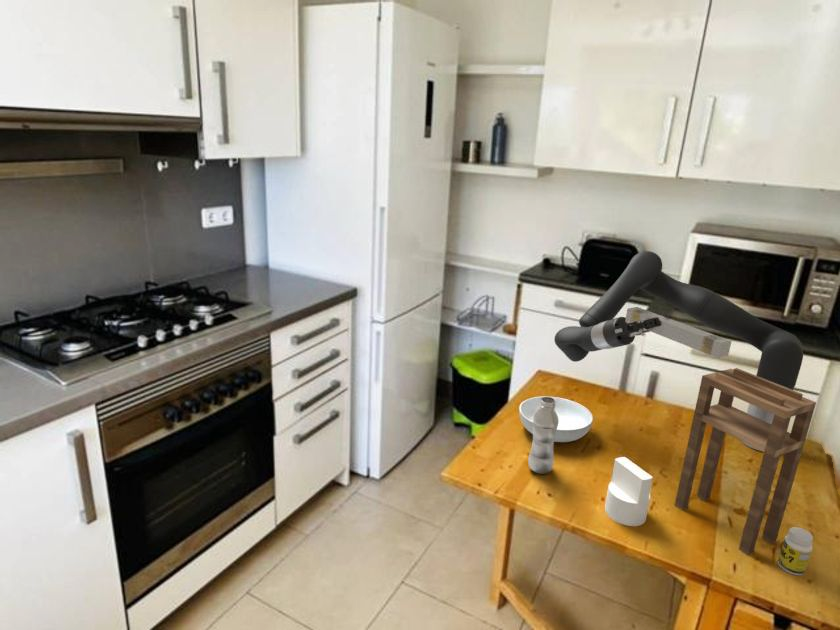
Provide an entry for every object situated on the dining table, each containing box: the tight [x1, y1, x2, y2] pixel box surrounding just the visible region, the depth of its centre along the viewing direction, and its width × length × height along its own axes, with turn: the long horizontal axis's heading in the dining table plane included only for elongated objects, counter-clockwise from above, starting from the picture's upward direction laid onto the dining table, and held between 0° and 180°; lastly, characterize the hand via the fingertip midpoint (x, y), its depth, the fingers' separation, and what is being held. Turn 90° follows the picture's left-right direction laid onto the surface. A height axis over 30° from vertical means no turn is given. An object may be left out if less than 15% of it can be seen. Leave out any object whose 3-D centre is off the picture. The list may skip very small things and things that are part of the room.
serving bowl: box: [518, 395, 594, 443], centre depth 160 cm, size 21×21×7 cm
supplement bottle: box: [777, 526, 814, 576], centre depth 111 cm, size 5×5×8 cm
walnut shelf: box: [674, 367, 817, 556], centre depth 119 cm, size 10×18×35 cm, turn 28°
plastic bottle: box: [527, 396, 559, 475], centre depth 139 cm, size 6×7×20 cm
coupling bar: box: [625, 306, 732, 359], centre depth 131 cm, size 4×26×4 cm, turn 28°
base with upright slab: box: [604, 456, 654, 527], centre depth 125 cm, size 9×9×12 cm
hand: (664, 320), depth 133 cm, fingers closed on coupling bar, 3 cm apart
